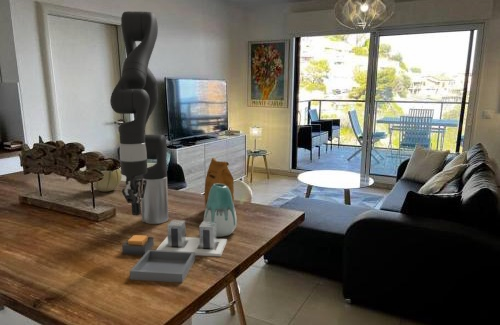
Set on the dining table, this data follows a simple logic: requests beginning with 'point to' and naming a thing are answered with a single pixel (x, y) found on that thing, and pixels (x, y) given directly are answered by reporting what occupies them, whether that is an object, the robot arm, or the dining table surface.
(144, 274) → the tray
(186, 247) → the white slotted plate
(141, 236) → the button
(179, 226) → the block
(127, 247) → the button housing
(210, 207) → the vase
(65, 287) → the dining table surface
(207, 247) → the block
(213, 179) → the coffee package
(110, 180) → the cantaloupe
